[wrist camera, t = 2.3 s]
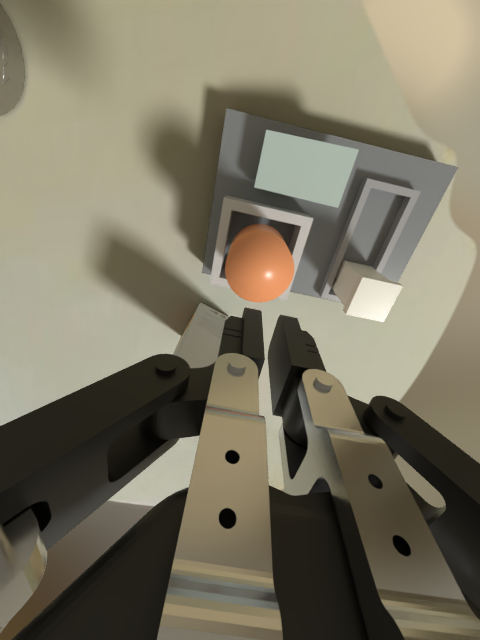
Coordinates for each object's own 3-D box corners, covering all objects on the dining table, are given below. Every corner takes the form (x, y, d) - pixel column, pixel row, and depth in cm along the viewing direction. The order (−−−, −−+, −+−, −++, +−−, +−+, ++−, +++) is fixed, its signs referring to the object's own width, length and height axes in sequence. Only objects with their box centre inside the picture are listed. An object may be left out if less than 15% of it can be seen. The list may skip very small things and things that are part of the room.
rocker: (256, 187, 23) (254, 187, 22) (268, 132, 21) (266, 129, 20) (336, 207, 22) (337, 208, 21) (356, 151, 20) (359, 149, 19)
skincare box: (199, 300, 32) (173, 360, 22) (230, 316, 33) (219, 382, 22) (179, 337, 35) (148, 406, 24) (208, 351, 36) (190, 424, 25)
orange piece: (225, 273, 25) (219, 294, 20) (236, 217, 22) (232, 227, 18) (277, 284, 25) (283, 308, 21) (293, 230, 23) (303, 243, 18)
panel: (205, 265, 30) (196, 283, 25) (228, 114, 23) (222, 98, 19) (373, 302, 31) (395, 325, 26) (439, 167, 25) (485, 165, 20)
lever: (328, 289, 28) (345, 314, 23) (341, 257, 26) (362, 277, 21) (359, 295, 28) (383, 322, 23) (373, 264, 26) (402, 286, 21)
